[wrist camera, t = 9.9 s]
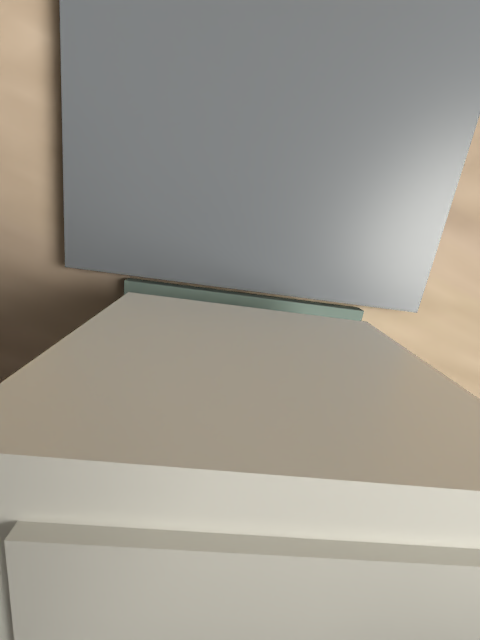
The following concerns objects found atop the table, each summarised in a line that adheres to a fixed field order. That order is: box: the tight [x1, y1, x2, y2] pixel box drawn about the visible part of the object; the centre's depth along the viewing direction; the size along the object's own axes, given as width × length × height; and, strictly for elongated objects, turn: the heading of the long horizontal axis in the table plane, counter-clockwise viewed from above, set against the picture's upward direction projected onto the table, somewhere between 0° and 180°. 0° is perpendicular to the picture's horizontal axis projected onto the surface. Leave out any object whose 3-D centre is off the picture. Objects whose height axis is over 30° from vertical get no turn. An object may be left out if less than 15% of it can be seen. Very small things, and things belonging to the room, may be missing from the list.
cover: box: [0, 292, 480, 640], centre depth 6 cm, size 8×6×5 cm
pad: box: [124, 278, 364, 321], centre depth 11 cm, size 10×7×1 cm
